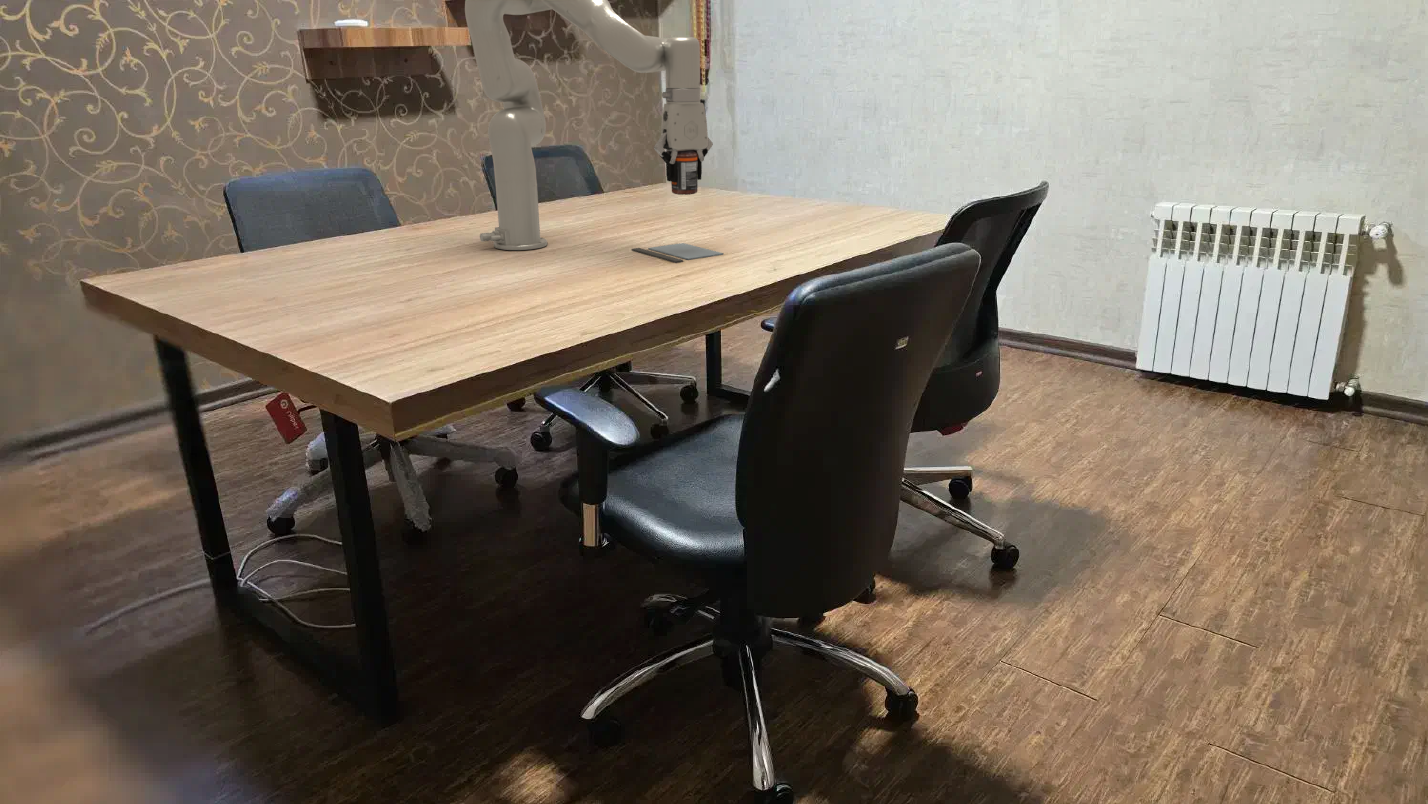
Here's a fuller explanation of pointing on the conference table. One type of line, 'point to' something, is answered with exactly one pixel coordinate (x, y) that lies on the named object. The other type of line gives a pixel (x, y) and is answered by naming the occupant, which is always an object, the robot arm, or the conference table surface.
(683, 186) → the supplement bottle
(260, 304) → the conference table surface
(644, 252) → the bar
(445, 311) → the conference table surface
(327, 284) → the conference table surface
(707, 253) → the pad
